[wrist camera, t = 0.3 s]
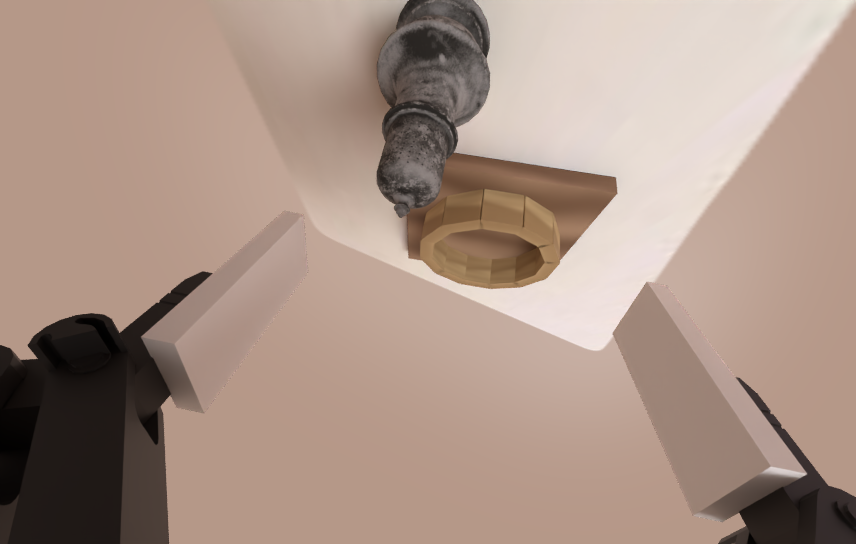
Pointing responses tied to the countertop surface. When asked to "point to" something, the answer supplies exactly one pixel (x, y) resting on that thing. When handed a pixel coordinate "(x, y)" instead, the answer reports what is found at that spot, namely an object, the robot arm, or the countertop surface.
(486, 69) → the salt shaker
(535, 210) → the collar stand
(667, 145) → the countertop surface
